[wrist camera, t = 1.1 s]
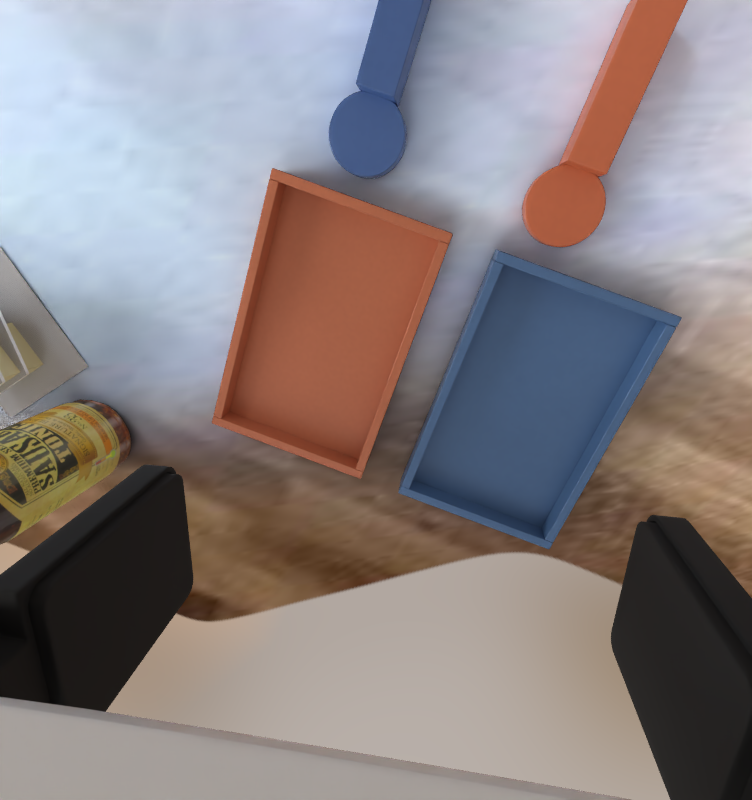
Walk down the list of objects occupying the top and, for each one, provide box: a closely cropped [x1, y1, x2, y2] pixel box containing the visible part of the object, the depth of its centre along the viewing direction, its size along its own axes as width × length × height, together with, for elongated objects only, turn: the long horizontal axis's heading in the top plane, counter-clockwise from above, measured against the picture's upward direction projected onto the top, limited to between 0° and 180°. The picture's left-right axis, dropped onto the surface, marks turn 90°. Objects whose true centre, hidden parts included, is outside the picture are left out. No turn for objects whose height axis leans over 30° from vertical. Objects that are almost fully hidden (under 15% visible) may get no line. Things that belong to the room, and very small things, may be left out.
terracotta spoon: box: [522, 0, 688, 247], centre depth 27 cm, size 12×4×2 cm, turn 161°
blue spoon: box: [329, 0, 431, 178], centre depth 27 cm, size 12×4×2 cm, turn 161°
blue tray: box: [399, 250, 682, 549], centre depth 32 cm, size 17×11×2 cm, turn 161°
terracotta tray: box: [212, 168, 452, 479], centre depth 33 cm, size 17×11×2 cm, turn 161°
